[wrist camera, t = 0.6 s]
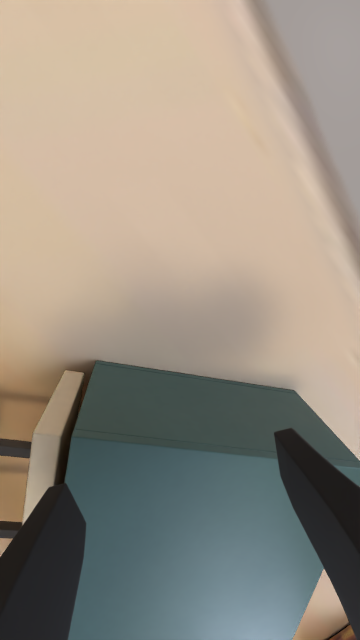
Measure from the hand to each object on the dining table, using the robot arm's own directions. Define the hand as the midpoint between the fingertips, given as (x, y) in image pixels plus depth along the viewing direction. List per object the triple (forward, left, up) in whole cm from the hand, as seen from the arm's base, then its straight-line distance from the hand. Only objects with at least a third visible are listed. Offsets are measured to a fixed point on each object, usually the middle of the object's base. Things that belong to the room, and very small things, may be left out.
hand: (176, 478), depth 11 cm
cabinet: (-1, -8, -11) cm, 13 cm away
